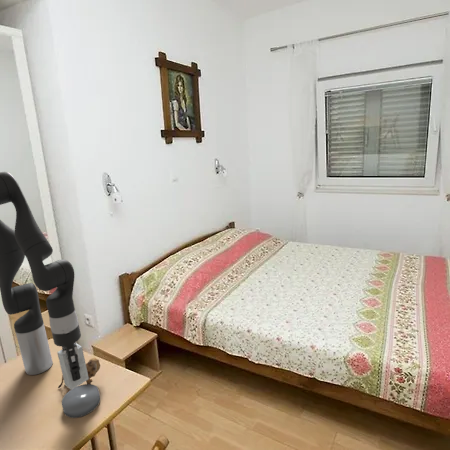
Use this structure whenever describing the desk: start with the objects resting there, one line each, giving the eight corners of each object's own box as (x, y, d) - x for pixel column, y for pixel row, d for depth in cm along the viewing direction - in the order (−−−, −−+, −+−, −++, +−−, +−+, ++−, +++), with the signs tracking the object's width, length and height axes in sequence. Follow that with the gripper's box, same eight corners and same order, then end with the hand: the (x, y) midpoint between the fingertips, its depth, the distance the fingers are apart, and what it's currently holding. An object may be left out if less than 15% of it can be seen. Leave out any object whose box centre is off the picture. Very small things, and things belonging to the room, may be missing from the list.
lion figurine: (103, 375, 123) (99, 353, 121) (102, 385, 118) (97, 362, 116) (59, 384, 120) (54, 362, 118) (56, 394, 115) (51, 372, 113)
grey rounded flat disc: (61, 401, 112) (59, 393, 111) (96, 386, 118) (94, 379, 117) (66, 423, 103) (64, 415, 102) (103, 407, 109) (102, 399, 108)
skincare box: (82, 374, 112) (75, 341, 109) (89, 379, 109) (82, 346, 106) (64, 385, 107) (56, 351, 104) (70, 390, 104) (63, 356, 101)
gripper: (48, 320, 107) (59, 367, 111) (54, 341, 95) (65, 393, 100) (74, 312, 111) (83, 358, 115) (82, 332, 99) (92, 382, 103)
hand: (75, 374), depth 107 cm, fingers closed on skincare box, 5 cm apart
